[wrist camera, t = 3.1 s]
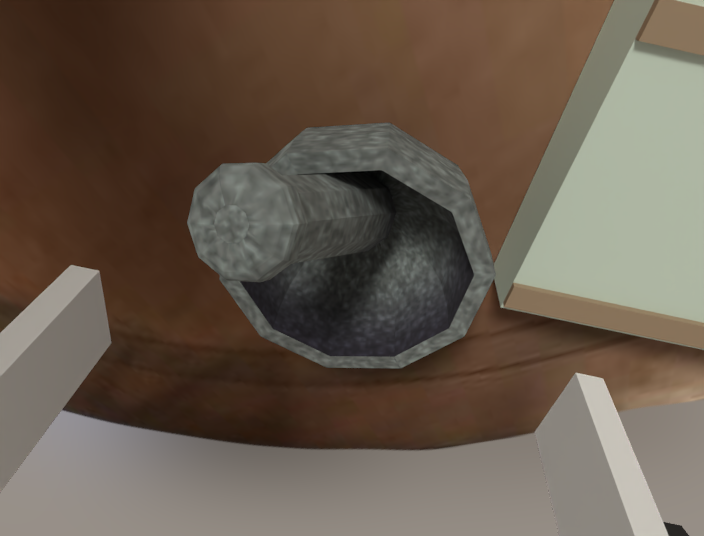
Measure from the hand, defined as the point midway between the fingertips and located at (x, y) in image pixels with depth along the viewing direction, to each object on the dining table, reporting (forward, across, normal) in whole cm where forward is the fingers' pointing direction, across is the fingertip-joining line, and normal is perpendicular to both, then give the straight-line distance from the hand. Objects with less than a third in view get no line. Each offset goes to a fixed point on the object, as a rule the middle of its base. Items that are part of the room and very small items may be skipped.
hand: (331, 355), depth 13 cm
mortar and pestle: (+11, 0, 0) cm, 11 cm away
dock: (+11, +14, +4) cm, 18 cm away
